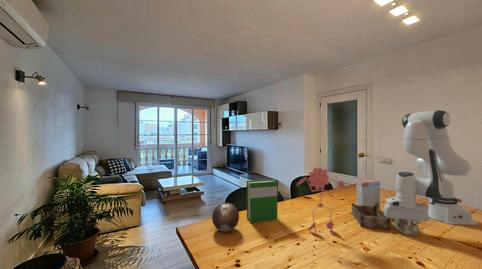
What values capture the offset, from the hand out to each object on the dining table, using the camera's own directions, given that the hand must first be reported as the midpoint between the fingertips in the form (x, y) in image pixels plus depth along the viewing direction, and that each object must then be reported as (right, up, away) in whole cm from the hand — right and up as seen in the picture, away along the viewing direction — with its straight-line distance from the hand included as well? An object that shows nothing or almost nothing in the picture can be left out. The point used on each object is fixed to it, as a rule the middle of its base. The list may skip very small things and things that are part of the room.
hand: (405, 227), depth 115 cm
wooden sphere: (-99, -3, +1) cm, 99 cm away
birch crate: (0, -2, 0) cm, 2 cm away
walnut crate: (-12, -2, +13) cm, 18 cm away
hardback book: (-78, -2, +16) cm, 79 cm away
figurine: (-48, -2, +1) cm, 48 cm away
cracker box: (-2, -2, +30) cm, 30 cm away
